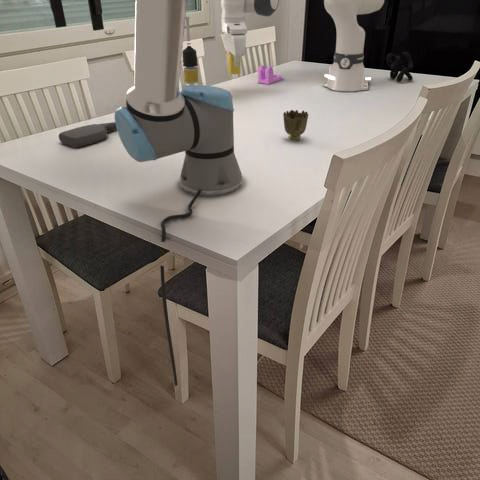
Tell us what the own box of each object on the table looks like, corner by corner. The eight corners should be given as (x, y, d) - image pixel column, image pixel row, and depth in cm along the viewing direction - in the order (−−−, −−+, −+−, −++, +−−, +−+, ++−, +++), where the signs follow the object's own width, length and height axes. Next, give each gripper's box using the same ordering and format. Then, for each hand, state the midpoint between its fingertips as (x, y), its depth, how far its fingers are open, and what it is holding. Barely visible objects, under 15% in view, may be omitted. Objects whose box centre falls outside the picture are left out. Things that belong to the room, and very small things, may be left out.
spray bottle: (57, 141, 138) (121, 123, 154) (77, 149, 132) (142, 129, 148) (55, 132, 136) (120, 114, 152) (75, 139, 130) (141, 120, 146)
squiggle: (400, 92, 202) (376, 71, 205) (417, 76, 202) (392, 56, 205) (405, 81, 191) (380, 59, 194) (423, 64, 191) (397, 42, 194)
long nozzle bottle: (202, 103, 173) (196, 17, 157) (188, 104, 171) (181, 18, 155) (197, 99, 177) (192, 15, 161) (184, 101, 176) (177, 16, 160)
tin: (243, 73, 175) (242, 52, 171) (233, 74, 173) (233, 54, 169) (235, 71, 179) (234, 51, 175) (226, 73, 176) (225, 52, 172)
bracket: (268, 84, 198) (268, 67, 194) (258, 82, 201) (258, 66, 197) (284, 78, 207) (284, 62, 203) (274, 77, 209) (274, 61, 206)
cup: (278, 141, 135) (279, 114, 131) (287, 133, 140) (288, 108, 136) (301, 144, 132) (303, 118, 128) (310, 137, 137) (312, 111, 133)
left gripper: (112, -81, 95) (127, 29, 106) (38, -74, 106) (59, 24, 118) (84, -83, 89) (103, 33, 101) (9, -76, 101) (34, 27, 112)
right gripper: (219, 23, 175) (221, 61, 182) (231, 29, 158) (232, 70, 165) (235, 22, 176) (236, 60, 183) (248, 28, 159) (249, 69, 166)
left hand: (79, 28), depth 109 cm, fingers open, 13 cm apart
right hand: (234, 65), depth 174 cm, fingers closed on tin, 5 cm apart
